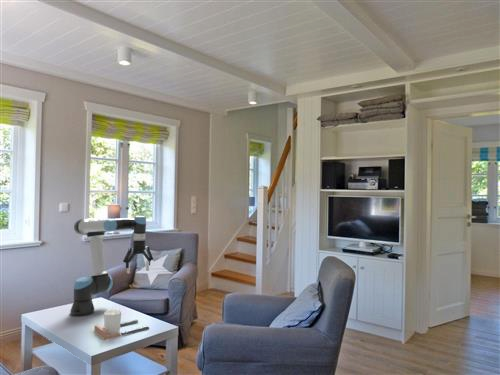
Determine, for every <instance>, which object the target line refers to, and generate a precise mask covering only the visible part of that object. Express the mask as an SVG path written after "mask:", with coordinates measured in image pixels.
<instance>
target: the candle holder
mask: <svg viewBox="0 0 500 375" xmlns="http://www.w3.org/2000/svg"><path fill="white" fill-rule="evenodd" d="M121 319H122V311H121V310H120V309H110V310H106V311H104V312H103V321H104V325H103V327H104V328H105V330H106V331H107V332H108V335H112V334H116V333H121V327H120V323H122V322H121V321H122V320H121Z"/></svg>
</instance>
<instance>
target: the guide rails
mask: <svg viewBox="0 0 500 375" xmlns="http://www.w3.org/2000/svg"><path fill="white" fill-rule="evenodd" d="M138 322H139V320H138V319H132V320H129V321H124V322H120V328H121V327H123V326H124V327H125V326H129V325H133V324H136V323H138ZM149 328H150V326H149V325H144V326H141V327H137V328H133V329H129V330H125V331H120V333H121V336H126V335H129V334H130V335H131V334H133V333H137V332H142V331H145V330H148V329H149Z"/></svg>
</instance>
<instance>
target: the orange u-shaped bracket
mask: <svg viewBox="0 0 500 375" xmlns="http://www.w3.org/2000/svg"><path fill="white" fill-rule="evenodd" d="M93 327H94V329H93V330H94V333H95V334H97V336H100V337H101V338H102V339H103V340H106V341H107V340H111V339H114V338H119V337H121V336H122V335H121V332H119V333H116V334H112V335H108V332H107V331H106V330H105V328H104V326H102V327H101V326H100V325H99V324H94V326H93Z"/></svg>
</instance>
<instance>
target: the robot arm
mask: <svg viewBox="0 0 500 375" xmlns="http://www.w3.org/2000/svg"><path fill="white" fill-rule="evenodd" d="M73 230H74V232H75V233H76V234H78V235H80V236H81V235H82V236H87V239H89V243H90V244H89V245H90V254H91V266H92V274H90V276H83V277H79V278H77V279H75V281H74V283H73V302H72V305H71V308H70V310H69V311H70V313H69V314H70V315H71V316H74V317H84V316H89V315H91V314H94V313H95V306H94V302H93V296H95V295H98V294H99V295H101V294H105V293H107V292H109V291H110V290H111V289H112V288H113V285H114V284H113V282H114V280H113V279H114V278H113V277H112V276H111V275H110V274H109V272H108V271H107V269H106V262H105V261H106V260H105V250H104V240H103V238H104V237H105V233H107V232H114V231H127V230H133V242H132V245H133V246H132V247H130V246H129V247H128V249H127V252H126V254H125V257H124V258H123V261H122V262H123V263H125V268H126V273H127V274H131V261H132V260H133V259H134V257H135V256H136V255H139V254H140V255H143V256H144V258H145V259H146V260H145V270H146V271H147V272H149V271H150V266H151V262H152V261H153V260H154V257H153V255H152V252H151V250H150V246H149V245H146V234H147V233H146V230H147V217H146V216H143V215H136V216H134V218H131V217H124V218H110V219H104V218H102V217H90V218H89V217H88V218H80V219H78V220H76V222H75V223H74V225H73Z"/></svg>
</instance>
